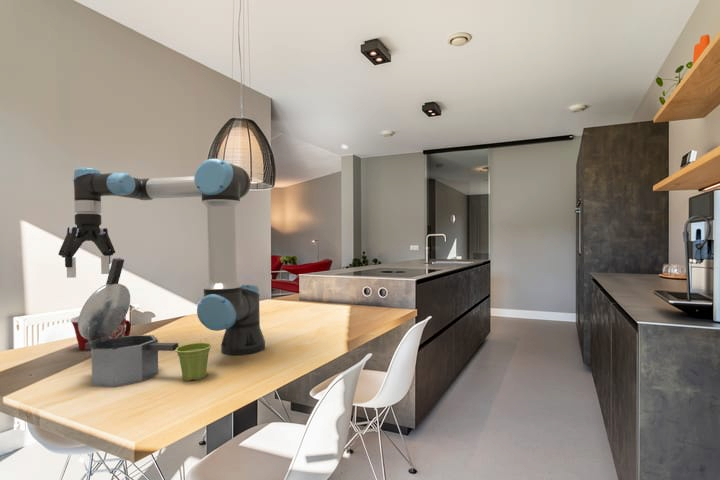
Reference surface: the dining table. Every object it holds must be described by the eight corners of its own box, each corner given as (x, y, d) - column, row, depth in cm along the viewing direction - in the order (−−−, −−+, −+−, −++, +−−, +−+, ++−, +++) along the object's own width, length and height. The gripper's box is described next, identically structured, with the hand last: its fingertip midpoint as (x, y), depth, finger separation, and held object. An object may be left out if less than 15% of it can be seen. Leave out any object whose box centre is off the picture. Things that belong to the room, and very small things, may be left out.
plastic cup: (63, 352, 140) (62, 319, 140) (85, 344, 151) (84, 313, 151) (92, 352, 140) (91, 318, 140) (112, 344, 151) (111, 313, 151)
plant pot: (189, 385, 104) (189, 353, 104) (169, 379, 109) (168, 348, 109) (219, 375, 112) (218, 344, 112) (198, 370, 117) (198, 341, 117)
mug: (111, 363, 125) (110, 322, 125) (88, 362, 127) (87, 321, 127) (141, 352, 138) (140, 314, 138) (119, 351, 140) (119, 314, 140)
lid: (142, 258, 122) (135, 256, 122) (97, 261, 105) (88, 258, 105) (122, 335, 123) (114, 332, 123) (74, 350, 106) (65, 347, 106)
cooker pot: (192, 368, 118) (191, 335, 118) (157, 388, 103) (156, 350, 103) (110, 366, 123) (109, 334, 123) (64, 385, 107) (64, 348, 107)
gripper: (107, 216, 147) (109, 272, 146) (43, 211, 122) (44, 279, 122) (125, 215, 145) (126, 272, 145) (64, 210, 121) (65, 279, 121)
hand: (89, 275), depth 133 cm, fingers open, 13 cm apart
